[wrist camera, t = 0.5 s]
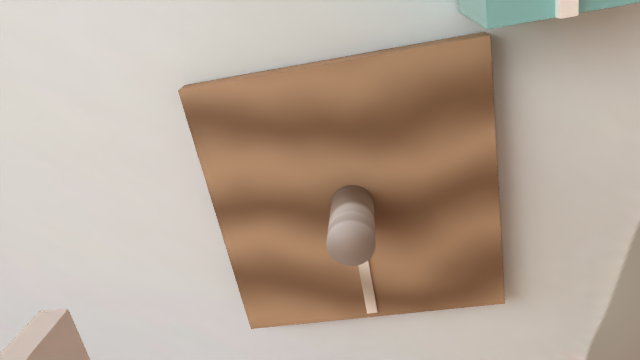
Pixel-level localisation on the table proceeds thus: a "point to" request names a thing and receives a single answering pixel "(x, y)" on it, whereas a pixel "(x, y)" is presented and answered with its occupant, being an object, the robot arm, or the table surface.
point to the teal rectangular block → (529, 10)
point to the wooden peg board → (356, 182)
